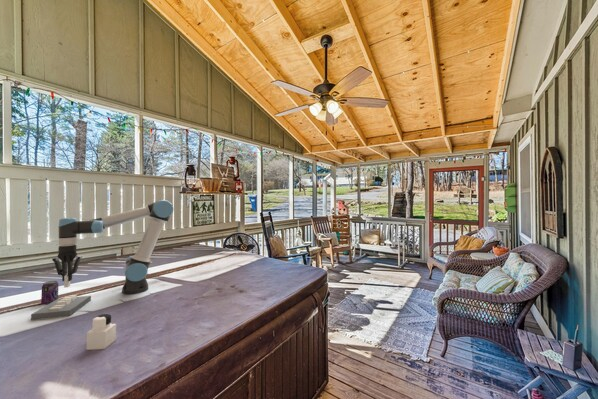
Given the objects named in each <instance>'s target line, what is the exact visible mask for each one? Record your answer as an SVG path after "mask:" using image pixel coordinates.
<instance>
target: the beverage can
mask: <svg viewBox="0 0 598 399" xmlns="http://www.w3.org/2000/svg"><path fill="white" fill-rule="evenodd" d="M59 284H60V283H59V282H58V280H50V281H46V282H43V283H42V286H41V295H40V296H41V299H40V300H41V302H40V303H41V304H43V305H48V304H50V303H52V302H53V301H55V300H57V299H59Z"/></svg>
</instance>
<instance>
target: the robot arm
mask: <svg viewBox="0 0 598 399" xmlns="http://www.w3.org/2000/svg"><path fill="white" fill-rule="evenodd" d="M173 212H174V206H173V203H172V202H171V201H169V200H166V199H159V200H157V201H155V202H152V203H149V204H146V205H145V206H143V207H138V208H135V209H130V210H126V211H123V212H118V213H114V214H110V215H107V216H106V215H105V216H102V217H98V218H93V219H89V220H78V218H77V217H62V218H60V219H59V222H58V242H57V243H58V244H57V245H58V250H57V251H58V254H57V256H56V257H53V258H52V259H51V261H52V262H53V263H54V265H55V269H56V273H57V275H58V276H61V277H62V278H61V280H62V282H64V283H63V288H69V287H70V286H71V281H72V280H73V275H75V274H76V273H77V271H78V269H79V268H78V267H79V264H80V261H81V260H82V259H83V256H82V255H78V253H77V248H78V246H77V241H78V240H77V239H78V238H77V235H82V234H87V235H88V234H100V233H103V232H104V229H105V230H106V229H110V228H112V227H116V226H119V225H124V224H127V223H131V222H134V221H139V220H142V219H145V218H149V223H148V224H147V227H146V229H145V231H144V234H143V236H142V238H141V241H140V243H139V245H138V248H137V250H136V252H135V253H134V255H131V256H129V257H126V258H125V269H124V270H125V271H124V275H125V281H124V284H123V285H122V288H121V293H122V294H124V295H130V294H131V295H133V294H138V293H143V292H145V290H146V291H148V290H149V283H148V280H147V277H146V276H147V274H148V271H149V270H148V269H149V267H150V265H151V263H152V260H151V256H152V253H153V252H154V249H155V246H156V244H157V242H158V239H159V237H160V235H161V233H162V230H163V227H164V225H165V224H167V223H168V222H169V220H170V217H171V216H172V215H173ZM73 262H74V264H73ZM142 291H143V292H142Z"/></svg>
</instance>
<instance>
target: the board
mask: <svg viewBox="0 0 598 399" xmlns="http://www.w3.org/2000/svg"><path fill="white" fill-rule="evenodd" d="M63 298H64V297H62V298H60V297H58V299H57V300H55V301H53V302H52V303H50V304H45V306H43V307H41V308H39V309H38V310H36V311H35V312H33V313H31V315H30V321H36V320H44V319H54V318H55V319H56V318H64V317H70V316H72V315H74V314H75V313H76V312H77V311H79V310H80V309H81V308H83V307H84V306H86V305H87V304H89V303H90V302H91V301H92V295H84V296H77V299H76V300H74V301H71V303H70V304H68V305H65V307H63V308H62V309H60V310H52V311H49V309H50V308H51V307H53V306H55V305H57V302H58V301H60V300H62V299H63Z"/></svg>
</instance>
